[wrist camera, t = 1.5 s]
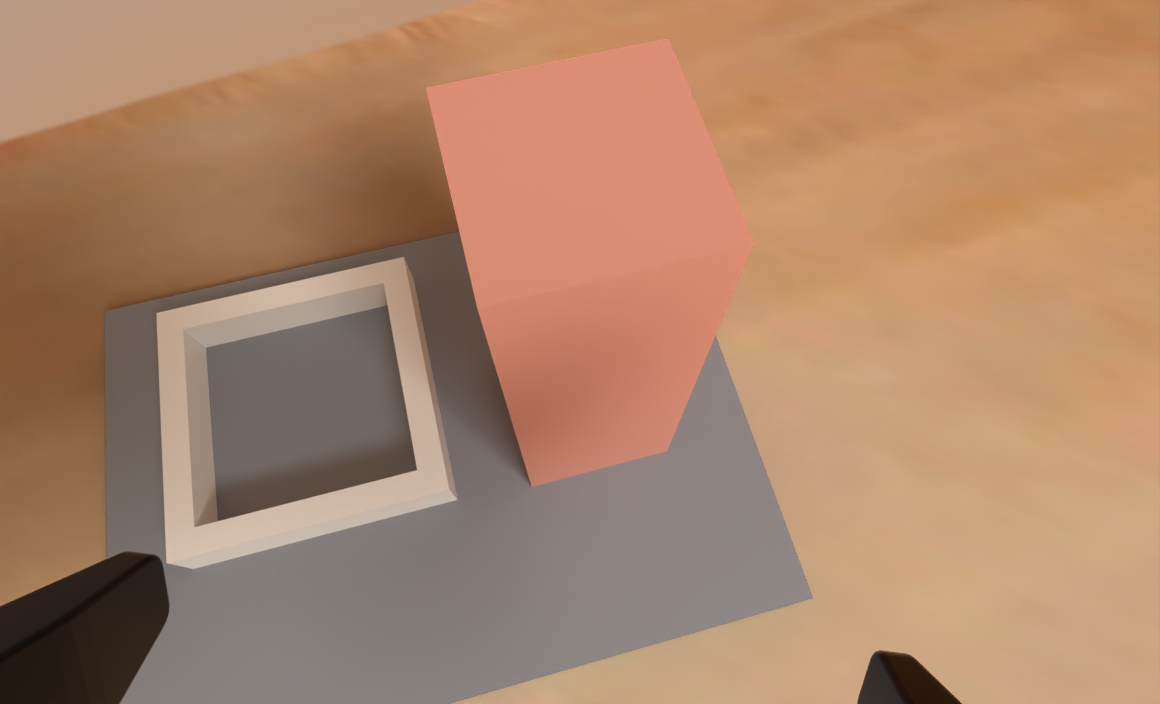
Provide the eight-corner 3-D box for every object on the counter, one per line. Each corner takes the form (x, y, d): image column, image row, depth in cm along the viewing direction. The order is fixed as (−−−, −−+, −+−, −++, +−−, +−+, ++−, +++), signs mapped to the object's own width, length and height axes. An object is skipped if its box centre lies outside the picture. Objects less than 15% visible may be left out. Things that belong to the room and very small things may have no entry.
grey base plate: (125, 796, 20) (71, 813, 18) (118, 320, 25) (76, 290, 23) (805, 599, 22) (829, 594, 20) (657, 198, 27) (664, 160, 25)
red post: (531, 486, 22) (477, 308, 11) (501, 360, 24) (425, 87, 12) (666, 451, 23) (753, 242, 11) (627, 329, 24) (668, 37, 13)
